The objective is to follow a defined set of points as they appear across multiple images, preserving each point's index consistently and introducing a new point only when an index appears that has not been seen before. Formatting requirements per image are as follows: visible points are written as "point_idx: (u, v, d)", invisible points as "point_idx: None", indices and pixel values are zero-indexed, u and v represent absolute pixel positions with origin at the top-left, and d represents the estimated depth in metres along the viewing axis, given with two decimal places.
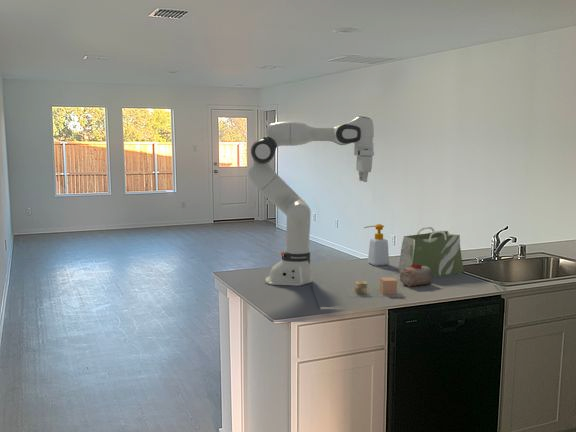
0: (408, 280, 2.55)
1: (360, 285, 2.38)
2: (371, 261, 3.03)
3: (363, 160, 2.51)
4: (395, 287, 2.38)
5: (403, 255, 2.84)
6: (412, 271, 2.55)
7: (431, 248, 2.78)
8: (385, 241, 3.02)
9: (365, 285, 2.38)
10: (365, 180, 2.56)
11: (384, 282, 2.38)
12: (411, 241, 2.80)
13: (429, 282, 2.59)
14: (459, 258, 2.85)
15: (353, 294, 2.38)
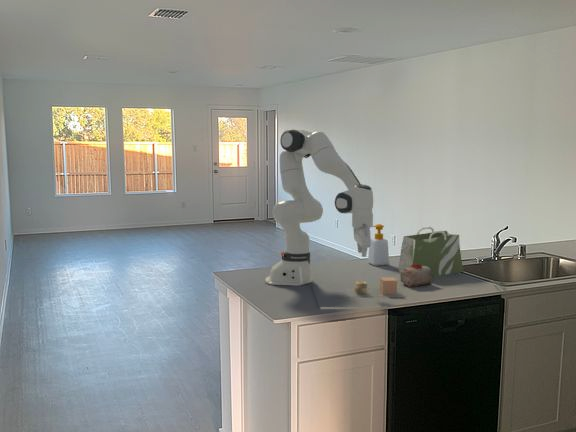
0: (408, 280, 2.55)
1: (360, 285, 2.38)
2: (371, 261, 3.03)
3: None
4: (395, 287, 2.38)
5: (403, 255, 2.84)
6: (412, 271, 2.55)
7: (431, 248, 2.79)
8: (385, 241, 3.02)
9: (365, 285, 2.38)
10: None
11: (384, 282, 2.38)
12: (411, 241, 2.80)
13: (429, 282, 2.59)
14: (459, 258, 2.85)
15: (353, 294, 2.38)
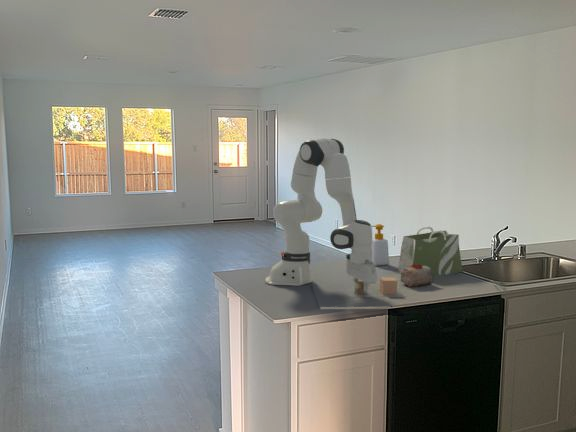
0: (409, 280, 2.55)
1: (360, 285, 2.38)
2: None
3: None
4: (395, 287, 2.38)
5: (403, 255, 2.84)
6: (413, 271, 2.55)
7: (431, 248, 2.79)
8: (385, 241, 3.02)
9: None
10: None
11: (384, 282, 2.38)
12: (411, 241, 2.80)
13: (430, 282, 2.59)
14: (458, 258, 2.86)
15: (353, 294, 2.38)
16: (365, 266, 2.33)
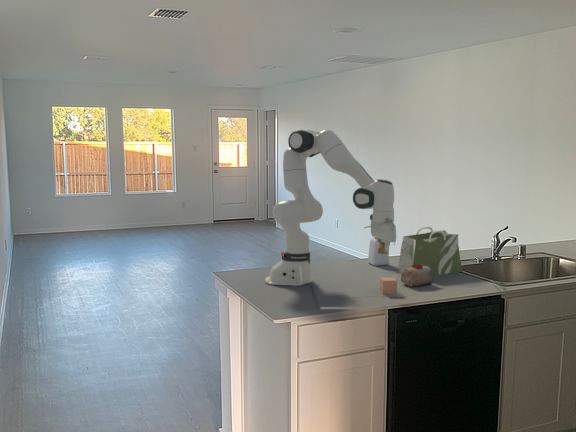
0: (409, 280, 2.55)
1: (381, 245, 2.36)
2: (371, 261, 3.03)
3: None
4: (395, 287, 2.38)
5: (403, 255, 2.84)
6: (413, 271, 2.55)
7: (431, 248, 2.79)
8: None
9: None
10: None
11: (384, 282, 2.38)
12: (411, 241, 2.80)
13: (430, 282, 2.59)
14: (457, 257, 2.87)
15: (353, 294, 2.38)
16: (385, 224, 2.31)
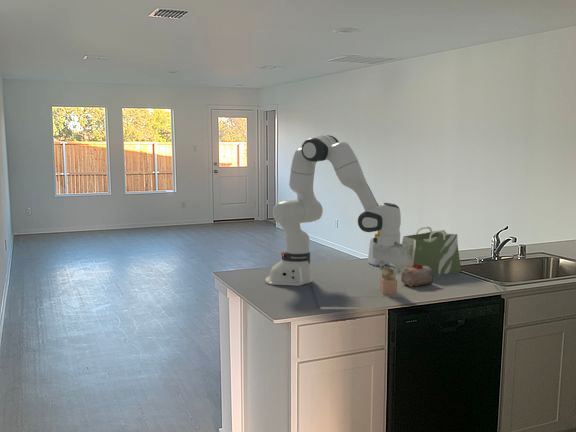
0: (410, 280, 2.55)
1: (389, 271, 2.38)
2: (371, 261, 3.03)
3: None
4: (395, 287, 2.38)
5: None
6: (414, 271, 2.55)
7: (431, 248, 2.79)
8: None
9: None
10: None
11: (384, 282, 2.38)
12: (411, 241, 2.80)
13: (430, 282, 2.59)
14: (457, 257, 2.87)
15: (353, 294, 2.38)
16: (395, 248, 2.33)
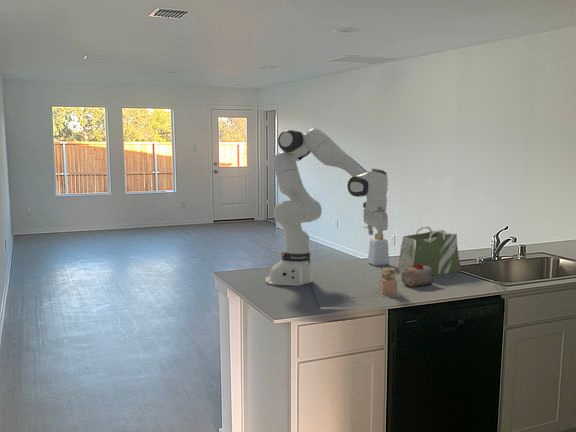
0: (410, 280, 2.55)
1: (389, 271, 2.38)
2: (371, 261, 3.03)
3: None
4: (395, 287, 2.38)
5: (402, 255, 2.84)
6: (414, 271, 2.55)
7: (431, 248, 2.80)
8: (385, 241, 3.02)
9: (394, 271, 2.39)
10: None
11: (384, 282, 2.38)
12: (411, 241, 2.80)
13: (430, 282, 2.59)
14: (456, 257, 2.88)
15: (353, 294, 2.38)
16: (377, 213, 2.39)
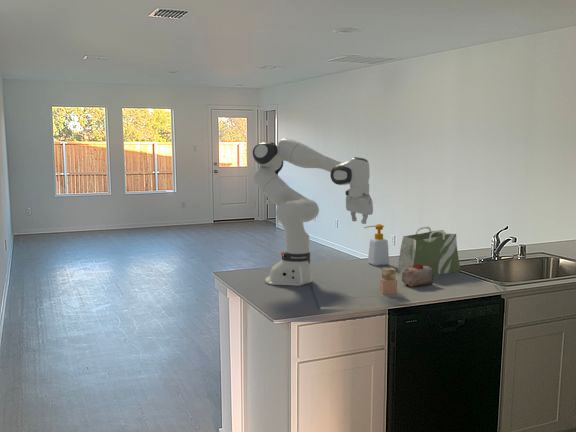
0: (410, 280, 2.55)
1: (389, 271, 2.38)
2: (371, 261, 3.03)
3: None
4: (395, 287, 2.38)
5: (402, 255, 2.84)
6: (414, 271, 2.55)
7: (431, 248, 2.80)
8: (385, 241, 3.02)
9: (394, 271, 2.39)
10: None
11: (384, 282, 2.38)
12: (411, 241, 2.80)
13: (431, 282, 2.59)
14: (456, 257, 2.88)
15: (353, 294, 2.38)
16: (362, 199, 2.50)
